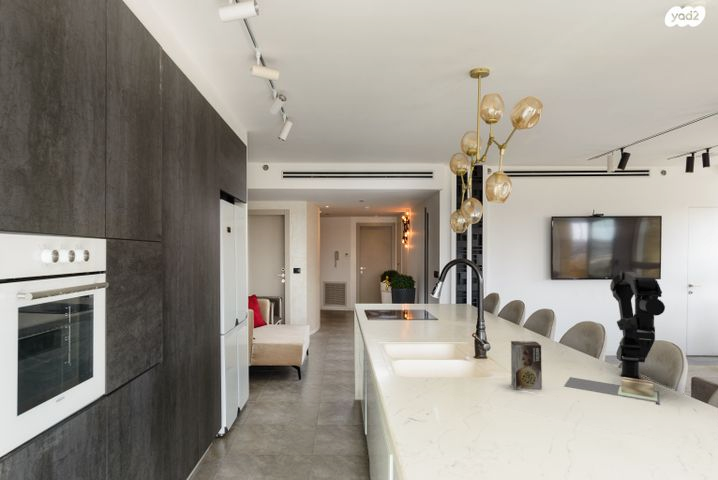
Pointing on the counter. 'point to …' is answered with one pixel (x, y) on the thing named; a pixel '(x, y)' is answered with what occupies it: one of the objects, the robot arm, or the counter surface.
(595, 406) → the counter surface
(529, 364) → the coffee box
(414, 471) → the counter surface
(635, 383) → the taped cardboard box
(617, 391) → the mat
